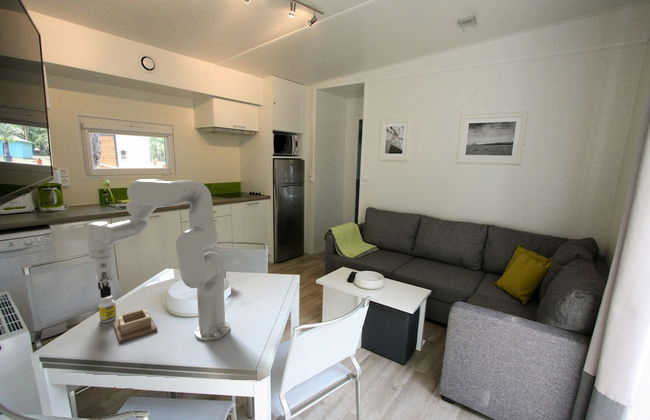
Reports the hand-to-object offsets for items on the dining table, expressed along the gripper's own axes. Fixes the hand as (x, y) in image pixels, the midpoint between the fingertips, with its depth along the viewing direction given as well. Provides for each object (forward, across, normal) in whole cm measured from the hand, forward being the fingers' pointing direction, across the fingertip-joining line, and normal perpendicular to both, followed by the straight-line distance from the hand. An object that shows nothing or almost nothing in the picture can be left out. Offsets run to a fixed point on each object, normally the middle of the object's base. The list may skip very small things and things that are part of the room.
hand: (104, 292), depth 116 cm
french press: (+11, +2, -48) cm, 49 cm away
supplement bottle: (+12, -1, 0) cm, 12 cm away
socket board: (+11, -16, -8) cm, 21 cm away
